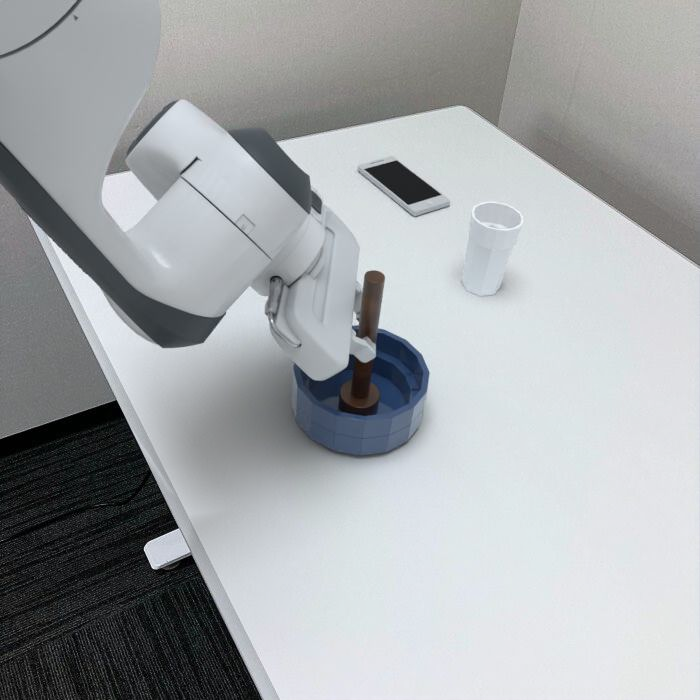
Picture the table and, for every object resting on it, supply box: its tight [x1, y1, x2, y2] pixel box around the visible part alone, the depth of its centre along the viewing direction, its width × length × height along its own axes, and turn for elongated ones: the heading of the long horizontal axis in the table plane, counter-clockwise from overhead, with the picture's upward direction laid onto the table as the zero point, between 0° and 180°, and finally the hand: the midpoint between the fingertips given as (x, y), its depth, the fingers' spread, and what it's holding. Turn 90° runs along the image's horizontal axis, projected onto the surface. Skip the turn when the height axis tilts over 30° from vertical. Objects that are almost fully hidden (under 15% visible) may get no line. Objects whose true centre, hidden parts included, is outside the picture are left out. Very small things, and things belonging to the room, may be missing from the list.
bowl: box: [291, 324, 431, 456], centre depth 85 cm, size 14×14×6 cm
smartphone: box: [357, 155, 451, 217], centre depth 122 cm, size 7×16×1 cm, turn 34°
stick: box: [339, 269, 386, 416], centre depth 80 cm, size 4×4×18 cm
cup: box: [461, 201, 525, 297], centre depth 102 cm, size 7×7×11 cm
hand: (372, 337), depth 79 cm, fingers open, 4 cm apart
